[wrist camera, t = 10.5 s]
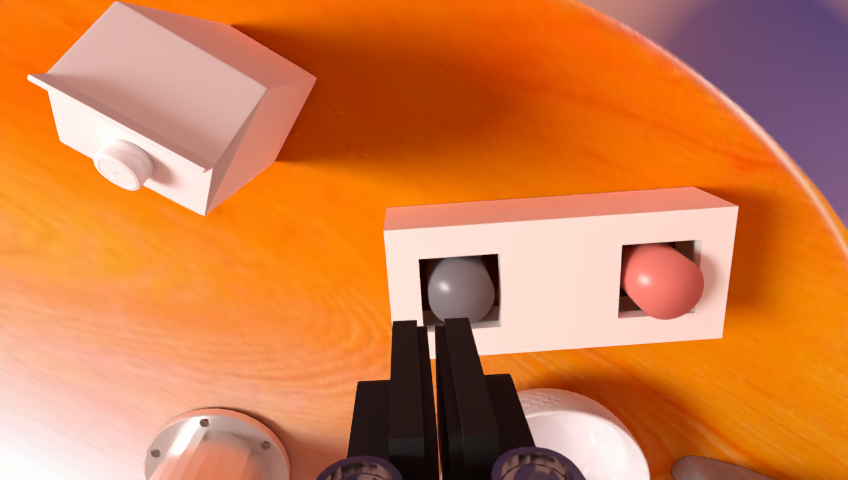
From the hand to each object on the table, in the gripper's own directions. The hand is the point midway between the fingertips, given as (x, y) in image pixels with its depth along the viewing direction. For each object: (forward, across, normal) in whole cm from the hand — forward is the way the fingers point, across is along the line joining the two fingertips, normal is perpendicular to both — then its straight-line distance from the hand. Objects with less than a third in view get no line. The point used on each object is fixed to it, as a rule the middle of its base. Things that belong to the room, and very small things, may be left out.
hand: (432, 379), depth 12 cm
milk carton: (+30, +11, -5) cm, 33 cm away
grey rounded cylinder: (+30, -3, +9) cm, 31 cm away
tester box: (+30, -10, +8) cm, 33 cm away
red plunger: (+28, -17, +8) cm, 34 cm away
